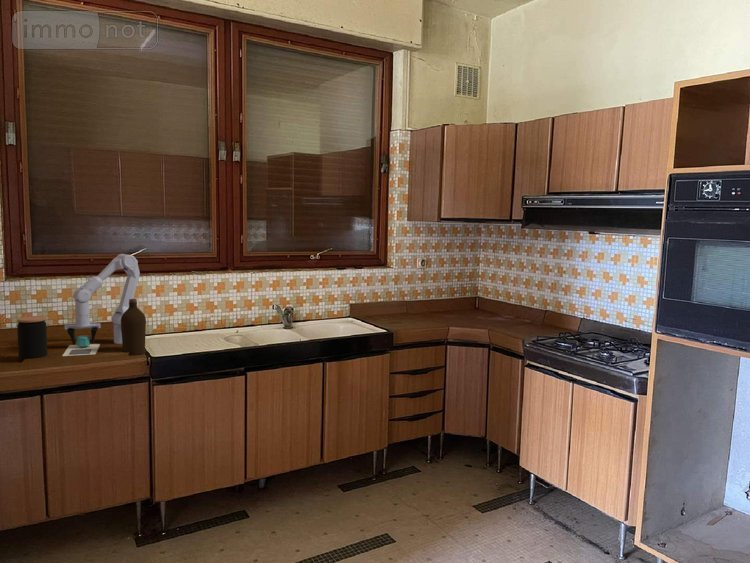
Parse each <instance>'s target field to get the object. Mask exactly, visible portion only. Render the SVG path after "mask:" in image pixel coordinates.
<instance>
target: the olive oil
mask: <svg viewBox="0 0 750 563" xmlns="http://www.w3.org/2000/svg"><path fill="white" fill-rule="evenodd" d="M137 301H138V299H137V298H133V299H129V308H128V309H127V310H126V311H125V312H124V313H123V315H122V317H121V332H122V344H121V346H122V352H124V353H128V356H139V355H143V354H145V353H146V332H147V331H146V330H147V318H146V315H145V314H144V312H143V311H142V310H141V309H139V308H138V302H137Z"/></svg>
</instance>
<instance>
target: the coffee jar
mask: <svg viewBox="0 0 750 563" xmlns="http://www.w3.org/2000/svg"><path fill="white" fill-rule="evenodd" d="M46 320H47V317H46V316H43V315H42V316H41V315H31V316H30V315H29V316H22V317H18V318H17V319H16V321H17V322H18V323H17V324H16V327H17V328H16V330H17V331H16V332H17V350H18V352H17V353H18V359H19V361H21V362H22V363H23V362H24V361H25V360H33V359H34V360H35V359H41V358H44V357H47V356H48V353H49V352H48V335H47V334H48V332H47V322H46Z"/></svg>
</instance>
